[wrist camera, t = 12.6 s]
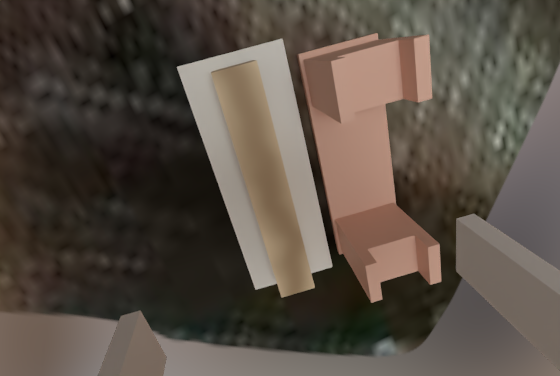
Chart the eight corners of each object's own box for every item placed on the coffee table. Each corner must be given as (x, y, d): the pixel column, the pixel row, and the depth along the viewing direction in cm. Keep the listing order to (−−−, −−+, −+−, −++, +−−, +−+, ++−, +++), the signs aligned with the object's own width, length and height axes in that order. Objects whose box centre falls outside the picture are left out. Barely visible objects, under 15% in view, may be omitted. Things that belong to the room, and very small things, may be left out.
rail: (276, 275, 36) (281, 297, 32) (213, 70, 27) (210, 72, 24) (307, 266, 36) (314, 287, 33) (253, 59, 27) (256, 60, 24)
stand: (337, 250, 36) (368, 307, 28) (296, 54, 28) (324, 53, 20) (396, 233, 37) (444, 284, 28) (373, 33, 28) (433, 24, 20)
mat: (255, 286, 37) (255, 289, 36) (177, 66, 27) (176, 66, 26) (331, 263, 37) (332, 266, 36) (281, 38, 27) (282, 38, 27)
